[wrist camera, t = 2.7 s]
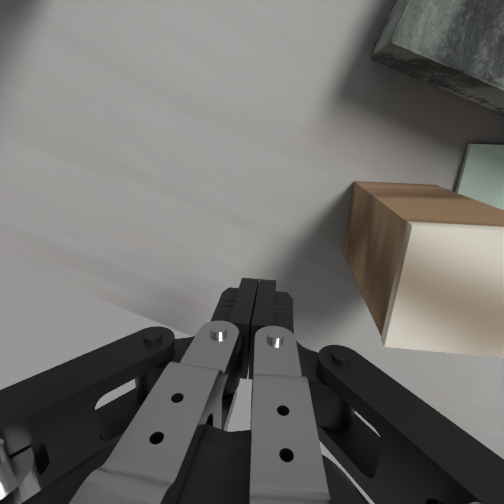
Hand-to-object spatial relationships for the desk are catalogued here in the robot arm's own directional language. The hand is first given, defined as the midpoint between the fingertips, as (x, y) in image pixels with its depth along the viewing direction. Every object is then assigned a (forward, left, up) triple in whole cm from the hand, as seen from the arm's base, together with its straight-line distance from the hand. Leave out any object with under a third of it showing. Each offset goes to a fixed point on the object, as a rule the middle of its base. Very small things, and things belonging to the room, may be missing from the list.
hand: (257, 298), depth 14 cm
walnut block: (0, +9, -13) cm, 16 cm away
